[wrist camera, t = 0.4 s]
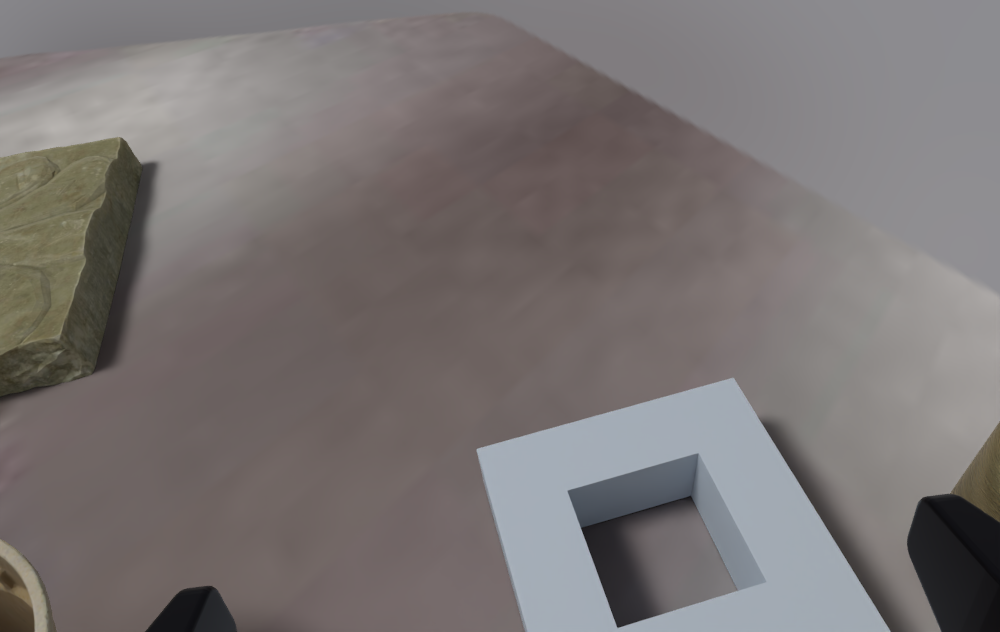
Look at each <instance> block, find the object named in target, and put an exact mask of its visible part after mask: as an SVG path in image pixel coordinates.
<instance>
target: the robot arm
mask: <svg viewBox="0 0 1000 632" xmlns="http://www.w3.org/2000/svg"><path fill="white" fill-rule="evenodd" d="M907 546H908V552H909V555H910V558H911V561H912V563H913V565H914V568H915V570H916V573H917V575H918V577H919V580H920V582H921V584H922V587H923V589H924V592H925V594H926V596H927V599H928V601H929V603H930V606H931V608H932V611H933V613H934V615H935V618H936V620H937V622H938V625H939V627H940V630H941V632H1000V522H999V521H998V520H996V519H995V518H993V517H992V516H990V515H989V514H987V513H986V512H984V511H983V510H981V509H980V508H978V507H977V506H975V505H974V504H972V503H971V502H969V501H967V500H966V499H964V498H963V497H961V496H958V495H955V494H943V495H935V496H927V497H923V498H922V499H921V500H920V501H919V502H918V505H917V508H916V511H915V515H914V518H913V521H912V524H911V528H910V531H909V534H908V539H907ZM145 632H237V629H236V624H235V621H234V619H233V617H232V615H231V614H230V612H229V610H228V608H227V606H226V605H225V603H224V601H223V599H222V597H221V595H220V594H219V592H218V590H217V589H216V588H214V587H212V586H203V587H195V588H187V589H184V590H182V591H180V592H179V593H178V594H176V595H175V597H174V598H173V599H172V600H171V601H170V602H169V604H168V605H167V606H166V607H165V608H164V610H163V611H162V612H161V613H160V614H159V616H158V617H157V618H156V619H155V620H154V622H153V623H152V624H151V625H150V627H149V628H148V629H147V630H146V631H145Z"/></svg>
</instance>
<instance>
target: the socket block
mask: <svg viewBox="0 0 1000 632" xmlns="http://www.w3.org/2000/svg"><path fill="white" fill-rule="evenodd" d="M477 454H478V458H479V462H480V467H481V471H482V475H483V480H484V484H485V489H486V493H487V496H488V500H489V503H490V507H491V511H492V514H493V518H494V521H495V525H496V529H497V532H498V536H499V539H500V543H501V547H502V550H503V554H504V557H505V561H506V565H507V568H508V572H509V576H510V579H511V583H512V586H513V590H514V594H515V597H516V601H517V604H518V608H519V612H520V615H521V619H522V622H523V626H524V630H525V632H891V631H890V630H889V628H888V626H887V625H886V623H885V622H884V620H883V618H882V617H881V615H880V614H879V612H878V610H877V609H876V607H875V605H874V604H873V602H872V601H871V599H870V597H869V596H868V594H867V593H866V591H865V589H864V588H863V586H862V585H861V583H860V581H859V580H858V578H857V576H856V575H855V573H854V572H853V570H852V568H851V567H850V565H849V564H848V562H847V560H846V559H845V557H844V555H843V554H842V552H841V551H840V549H839V547H838V546H837V544H836V543H835V541H834V539H833V538H832V536H831V534H830V533H829V531H828V530H827V528H826V526H825V525H824V523H823V522H822V520H821V518H820V517H819V515H818V513H817V512H816V510H815V509H814V507H813V505H812V504H811V502H810V501H809V499H808V497H807V496H806V494H805V493H804V491H803V489H802V488H801V486H800V484H799V483H798V481H797V480H796V478H795V476H794V475H793V473H792V472H791V470H790V468H789V467H788V465H787V463H786V462H785V460H784V459H783V457H782V455H781V454H780V452H779V451H778V449H777V447H776V446H775V444H774V442H773V441H772V439H771V438H770V436H769V434H768V433H767V431H766V430H765V428H764V426H763V425H762V423H761V421H760V420H759V418H758V417H757V415H756V413H755V412H754V410H753V409H752V407H751V405H750V404H749V402H748V401H747V399H746V397H745V396H744V394H743V392H742V391H741V389H740V388H739V386H738V384H737V383H736V381H735V380H734V378H731V379H727V380H723V381H720V382H716V383H713V384H709V385H705V386H702V387H698V388H695V389H691V390H687V391H684V392H680V393H677V394H673V395H669V396H666V397H662V398H659V399H655V400H651V401H648V402H644V403H641V404H637V405H633V406H630V407H626V408H623V409H619V410H615V411H612V412H608V413H605V414H601V415H597V416H594V417H590V418H587V419H583V420H579V421H576V422H572V423H569V424H565V425H561V426H558V427H554V428H551V429H547V430H543V431H540V432H536V433H533V434H529V435H525V436H522V437H518V438H515V439H511V440H507V441H504V442H500V443H497V444H493V445H489V446H486V447H482V448H478V449H477ZM688 496H691V497H692V499H693V501H694V503H695V505H696V507H697V509H698V511H699V513H700V515H701V517H702V519H703V521H704V523H705V525H706V527H707V529H708V531H709V533H710V535H711V537H712V539H713V541H714V543H715V545H716V547H717V549H718V551H719V553H720V555H721V557H722V559H723V562H724V564H725V566H726V568H727V570H728V572H729V574H730V576H731V578H732V580H733V582H734V584H735V586H736V588H737V590H738V591H736V592H733V593H730V594H726V595H723V596H720V597H717V598H713V599H710V600H707V601H704V602H700V603H697V604H694V605H691V606H687V607H684V608H681V609H678V610H674V611H671V612H668V613H665V614H661V615H658V616H655V617H652V618H649V619H645V620H642V621H639V622H636V623H632V624H629V625H626V626H623V627H619V628H617V626H616V623H615V620H614V618H613V615H612V612H611V609H610V607H609V604H608V601H607V598H606V596H605V593H604V590H603V587H602V585H601V582H600V579H599V576H598V574H597V571H596V568H595V565H594V563H593V560H592V557H591V554H590V552H589V549H588V546H587V544H586V541H585V538H584V535H583V533H582V530H581V528H583V527H586V526H589V525H593V524H596V523H600V522H603V521H606V520H610V519H613V518H617V517H620V516H624V515H627V514H630V513H634V512H637V511H641V510H644V509H647V508H651V507H654V506H658V505H661V504H664V503H668V502H671V501H675V500H678V499H682V498H685V497H688Z"/></svg>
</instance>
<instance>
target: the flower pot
mask: <svg viewBox="0 0 1000 632" xmlns="http://www.w3.org/2000/svg"><path fill="white" fill-rule="evenodd" d="M0 632H57V631H56V627H55V623H54V621H53V617H52V610H51V605H50V601H49V597H48V594H47V591H46V588H45V585H44V583H43V582H42V580H41V578H40V576H39V574H38V572H37V571H36V569H35V568H34V567H33V566H32V564H31V563H30V562H29V561H28V560H27V559H26V558H25V556H24V555H22V554H21V553H20V552H19V551H18V550H17V549H15V548H14V547H13V546H11V545H10V544H8V543H7V542H5V541H3V540H1V539H0Z"/></svg>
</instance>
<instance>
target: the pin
mask: <svg viewBox="0 0 1000 632" xmlns="http://www.w3.org/2000/svg"><path fill="white" fill-rule="evenodd" d="M950 494H955V495H958V496H961V497H963V498H964V499H966V500H967V501H969V502H971V503H972V504H974V505H975V506H977V507H978V508H980V509H981V510H983V511H984V512H986V513H987V514H989V515H990V516H992V517H993V518H995V519H996V520H998V521H999V522H1000V422H999V424H998V425H997V426H996V428H995V429H994V431H993V432H992V434H991V435H990V437H989V438H988V439H987V441H986V442H985V444H984V445H983V447H982V448H981V450H980V451H979V452H978V454H977V455H976V457H975V458H974V460H973V461H972V463H971V464H970V465H969V467H968V468H967V470H966V471H965V473H964V474H963V475H962V477H961V478H960V480H959V481H958V483H957V484H956V486H955V487H954V488H953V490H952V491H951V493H950Z"/></svg>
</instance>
